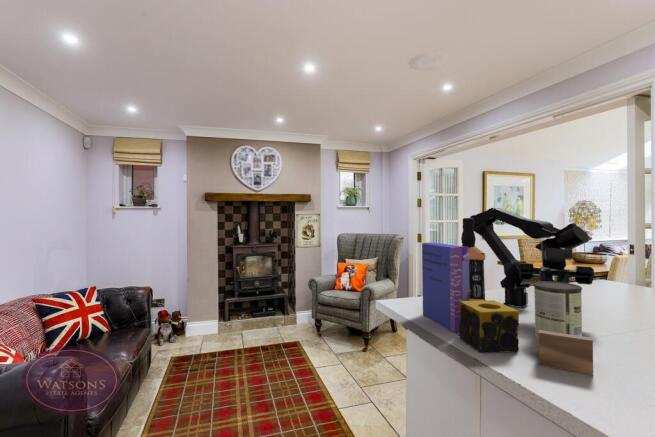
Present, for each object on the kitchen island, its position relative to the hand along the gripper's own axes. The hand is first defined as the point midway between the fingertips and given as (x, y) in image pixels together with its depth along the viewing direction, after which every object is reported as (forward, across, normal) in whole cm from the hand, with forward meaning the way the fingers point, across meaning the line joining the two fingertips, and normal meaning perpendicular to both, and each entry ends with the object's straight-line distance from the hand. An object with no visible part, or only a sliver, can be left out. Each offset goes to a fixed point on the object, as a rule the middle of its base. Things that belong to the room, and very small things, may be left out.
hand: (556, 296), depth 93 cm
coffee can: (+14, -1, -2) cm, 15 cm away
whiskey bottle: (0, -25, +12) cm, 28 cm away
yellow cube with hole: (+24, -16, -12) cm, 31 cm away
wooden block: (+26, -1, -14) cm, 30 cm away
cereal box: (+15, -29, -3) cm, 33 cm away
